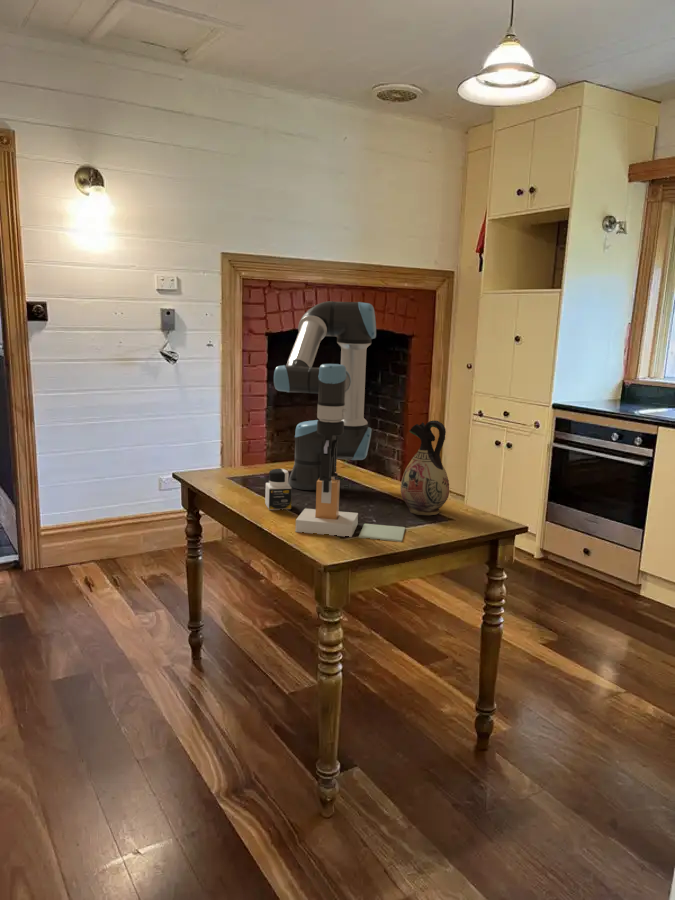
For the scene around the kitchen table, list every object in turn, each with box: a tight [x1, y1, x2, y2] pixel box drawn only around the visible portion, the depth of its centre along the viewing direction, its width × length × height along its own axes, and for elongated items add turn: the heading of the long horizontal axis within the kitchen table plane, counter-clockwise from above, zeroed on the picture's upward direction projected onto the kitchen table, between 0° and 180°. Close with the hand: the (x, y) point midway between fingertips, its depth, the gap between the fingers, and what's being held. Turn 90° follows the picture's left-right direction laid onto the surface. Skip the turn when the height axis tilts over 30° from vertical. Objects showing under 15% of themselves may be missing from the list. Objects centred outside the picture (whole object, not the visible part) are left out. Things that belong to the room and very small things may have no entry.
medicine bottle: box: [264, 468, 293, 511], centre depth 215 cm, size 7×7×12 cm
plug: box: [315, 479, 341, 520], centre depth 196 cm, size 4×6×11 cm, turn 80°
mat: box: [358, 523, 406, 543], centre depth 195 cm, size 12×12×1 cm
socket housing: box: [295, 507, 359, 538], centre depth 197 cm, size 12×16×4 cm
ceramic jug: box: [400, 420, 450, 516], centre depth 214 cm, size 17×15×30 cm
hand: (327, 500), depth 196 cm, fingers closed on plug, 4 cm apart
